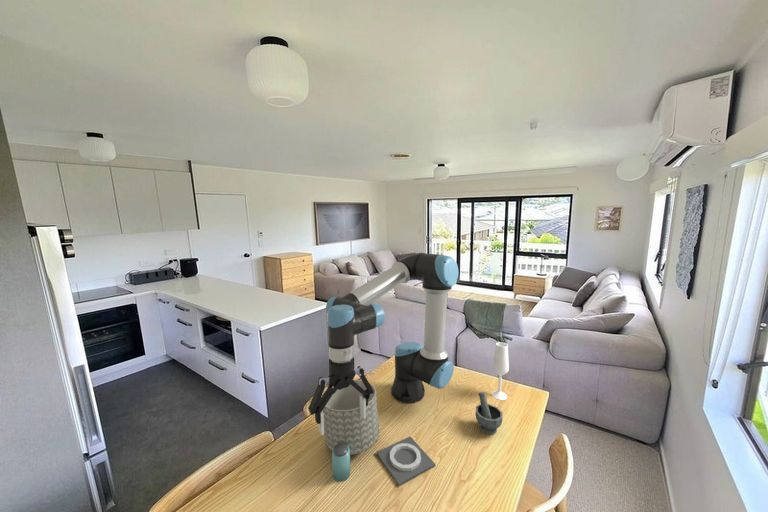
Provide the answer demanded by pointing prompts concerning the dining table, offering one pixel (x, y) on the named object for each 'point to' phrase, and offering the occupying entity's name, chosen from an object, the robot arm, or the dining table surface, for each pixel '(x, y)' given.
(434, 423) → the dining table surface
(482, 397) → the mortar and pestle
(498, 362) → the champagne flute
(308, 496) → the dining table surface
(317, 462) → the dining table surface
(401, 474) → the holder
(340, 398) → the planter
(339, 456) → the teal and grey peg
